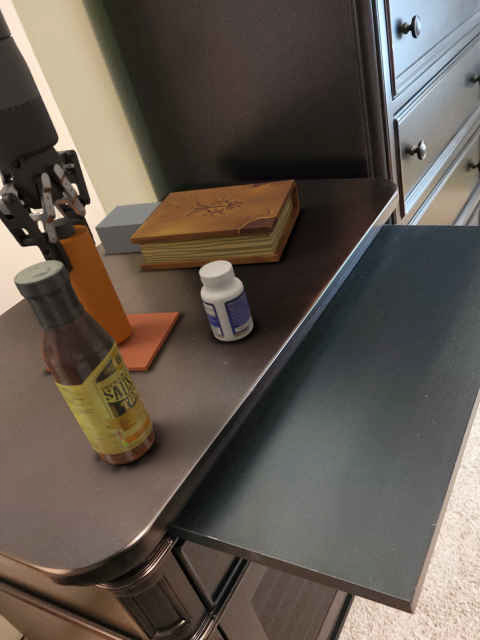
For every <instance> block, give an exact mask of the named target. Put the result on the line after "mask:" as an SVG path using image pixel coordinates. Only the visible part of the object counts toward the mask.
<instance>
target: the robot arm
mask: <svg viewBox="0 0 480 640" xmlns="http://www.w3.org/2000/svg"><path fill="white" fill-rule="evenodd" d="M59 140H60V139H59V134H58V132H57V130H56V127H55V125H54V123H53V120H52V118H51V115H50V113H49V110H48V108H47V106H46V104H45V101H44V100H43V97H42V95H41V92H40V90H39V87H38V86H37V84H36V80H35V79H34V76H33V73H32V71H31V69H30V67H29V65H28V63H27V61H26V59H25V58H24V56H23V54H22V52H21V50H20V49H19V46H18V45H17V43H16V42H15V39H14V37H13V36H12V32H11V30H10V28H9V25H8V23H7V20H6V18H5V16H4V13H3V11H2V9H1V8H0V178H1V183H2V185H3V186H2V188H1V189H0V221H1V222H2V224H3V226H5V227H6V229H7V230H8V231H9V233H10V234H11V236H12V237H13V238H14V239H15V241H16V242H17V243H18V245H19V246H20V247H21V248H27V247H37V248H38V249H39V250H40V251H39V252H40V253H41V255H42V256H43V259H44V261H50V260H55V261H60V262H62V263H63V264H64V266H65V267H66V269H67V271H68V273H70V272H71V271H72V270H73V267H72V265H71V263H70V261H69V259H68V257H67V255H66V253H65V251H64V248H63V246H62V244H61V242H60V240H57V236H56V231H55V227H54V223H53V221H54V220H56V219H57V214H56V210H57V211H58V212H59V213H60V215H61V216H62V218H64V217H68V218H70V219H71V221H72V223H73V225H84V226H86V227H87V228H88V230H89V233H90V235H91V237H92V239H93V242H94V244H95V246H96V245H97V243H96V241H95V237H94V234H93V232H92V230H91V228H90V226H89V225H90V224H89V223H88V221H87V219H86V215H87V210H86V206H89V205H90V204H91V196H90V194H89V190H88V187H87V183H86V180H85V177H84V173H83V169H82V166H81V164H80V160H79V157H78V153H77V152H76V150H74V149H66V150H59V151H58V150H57V149H56V148H55V146H56V145H57V144H58V142H59ZM72 184H74V185H76V188H77V190H76V188H75V187H74V186H73V185H72ZM55 208H56V210H55ZM32 210H41V212H37V213H34V212H33V211H32ZM39 222H41V223H42V228H43V231H42V230H41V229H40V227H39ZM25 231H26V232H27V233H26V232H25Z"/></svg>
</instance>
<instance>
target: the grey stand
mask: <svg viewBox="0 0 480 640" xmlns="http://www.w3.org/2000/svg"><path fill="white" fill-rule="evenodd" d="M162 202H163V201H154V202H143V203H132V204H123V205H116V206H115V207H114V208H113V209H112V210H111V211H110V212H109V213H108V214H107V215H106V216H104V218H103V219H102V220H101V221H100V222H99V223H98V224H97V225H96V226H95V227H94V229H95V231H96V234H97V236H98V238H99V240H100V243H101V245H102V247H103V250H104V252H105V254H106V255H115V254H116V255H117V254H131V253H142V252H141V249H140V247H139V244H138V243H137V244H132V243H131V240H130V238H131V237H132V235H133V234H134V233H135V232H136V231H137V230H138V229H139V228H140V227H141V225H142V224H143V223H144V222H145V221H146V220H147V219H148V218H149V216H150V215H151V214H152V213H153V212H154V211H155V210H156V209H157V208H158V206H159V205H160V204H161V203H162Z"/></svg>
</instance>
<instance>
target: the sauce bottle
mask: <svg viewBox="0 0 480 640" xmlns="http://www.w3.org/2000/svg"><path fill="white" fill-rule="evenodd" d="M13 283H14V285H15V287H16V289H17V291H18V292H19V294H20V295H21V296H22V298H24V299H25V300H26V301H27V303H28V305H29V307H30V308H31V310H32V313H33V315H34V316H35V318H36V321H37V323H38V325H39V326H40V328H41V334H40V354H41V357H42V359H43V362H44V363H45V365H46V368H47V367H48V368H49V370H50V372H49V373H51V375H52V380H53V381H54V383H55V385H56V386H57V388H58V390H59V392H60V394H61V395H62V397H63V399H64V400H65V402H66V403H67V405H68V407H69V409H70V410H71V412H72V414H73V415H74V417H75V419H76V421H77V423H78V425H79V426H80V428H81V430H82V432H83V433H84V435H85V436H86V438H87V440H88V441H89V443H90V445H91V447H92V449H93V450H94V451H95V452H97V453H98V455H99V457H100V459H101V460H102V461H103V462H105V463H107V464H110V465H115V466H118V465H124V464H125V465H126V464H129V463H133V462H134V461H136V460H138V459H139V458H141V457H142V456H144V455H145V454H146V453H147V452H149V450H150V449H151V448H152V446H153V445H154V442H155V440H156V438H155V437H156V435H155V429H154V426H153V420H152V418H151V415H150V413H149V412H148V409H147V407H146V405H145V403H144V400H143V399H142V396H141V394H140V392H139V390H138V388H137V385H136V383H135V381H134V379H133V377H132V375H131V373H130V372H131V371H129V370H128V368H127V366H126V364H125V362H124V360H123V357H122V355H121V353H120V351H119V348H118V346H117V344H116V342H115V340H114V338H112V337H111V336H110V335H109V334H108V333H107V332H106V331H105V330H104V329H103V328H102V327H101V326H100V325H99V324H98V323H97V322H96V321H95V320H94V319H93V318H92V316H91V315H90V314H89V313H88V312H87V311H86V310H85V309H84V306H83V305H82V303H81V302H80V301H79V299H78V297H77V295H76V293H75V290H74V289H73V287H72V284H71V279H70V275H69V273H68V271H67V269H66V267H65V266H64V264H63V263H62V262H60V261H55V260H50V261H46V260H44V261H41V262H37V263H35V264H32V265H30V266H28V267H25V268H23V269H22V270H20V271H19V272H17V273H16V275H15V276H14V277H13Z"/></svg>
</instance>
